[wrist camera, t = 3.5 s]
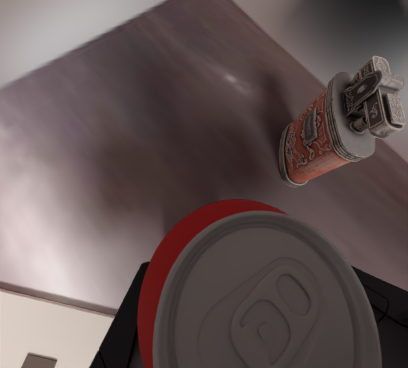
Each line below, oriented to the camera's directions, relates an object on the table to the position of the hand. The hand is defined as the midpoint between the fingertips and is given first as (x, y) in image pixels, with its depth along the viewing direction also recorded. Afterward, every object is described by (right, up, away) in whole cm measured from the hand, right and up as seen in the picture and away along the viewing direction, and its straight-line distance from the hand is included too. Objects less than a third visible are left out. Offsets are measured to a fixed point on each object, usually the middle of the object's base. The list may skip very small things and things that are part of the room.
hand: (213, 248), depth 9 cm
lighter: (+10, +7, +11) cm, 16 cm away
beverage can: (0, -3, +6) cm, 7 cm away
